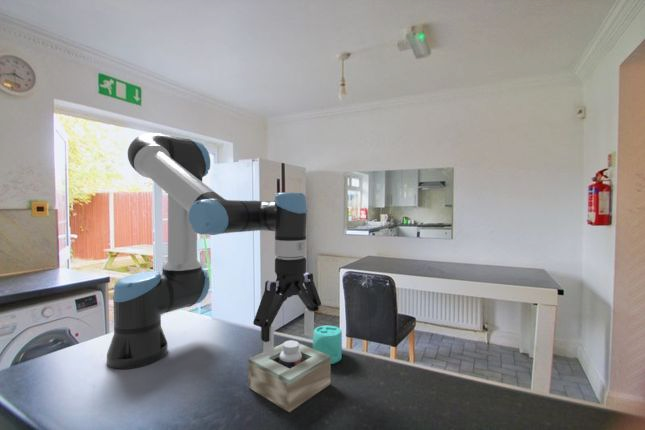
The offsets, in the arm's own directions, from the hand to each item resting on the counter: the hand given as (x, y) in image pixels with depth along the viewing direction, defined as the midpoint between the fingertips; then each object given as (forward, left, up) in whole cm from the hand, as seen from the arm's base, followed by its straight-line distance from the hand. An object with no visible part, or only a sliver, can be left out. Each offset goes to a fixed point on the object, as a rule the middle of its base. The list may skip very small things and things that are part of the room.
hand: (290, 344), depth 76 cm
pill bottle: (0, 0, -10) cm, 10 cm away
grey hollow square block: (0, 0, -10) cm, 10 cm away
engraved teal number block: (-2, +17, -10) cm, 20 cm away
